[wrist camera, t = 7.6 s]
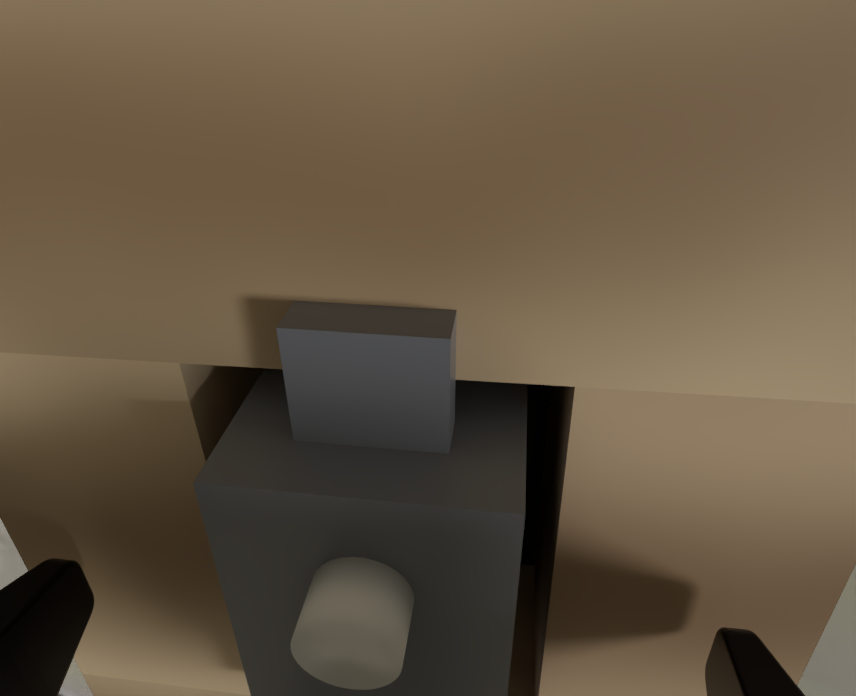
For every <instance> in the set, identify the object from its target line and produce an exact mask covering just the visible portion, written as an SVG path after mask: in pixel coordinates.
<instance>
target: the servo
mask: <svg viewBox="0 0 856 696" xmlns="http://www.w3.org/2000/svg"><path fill="white" fill-rule="evenodd" d="M456 323H457V310H446V309H429V308H412V307H396V306H379V305H362V304H345V303H328V302H311V301H294V302H293V303H292V305H291V306H290V308H289V309H288V311H287V312H286V314H285V315H284V317H283V318H282V320H281V321H280V323H279V324H278V326H277V327H276V330H277V337H278V343H279V350H280V356H281V363H282V369H269V368H264V370H263V371H262V373H261V374H260V376H259V378H258V379H257V381H256V382H255V384H254V386H253V387H252V389H251V390H250V392H249V394H248V395H247V397H246V398H245V400H244V402H243V403H242V405H241V406H240V408H239V410H238V411H237V413H236V414H235V416H234V418H233V419H232V421H231V422H230V424H229V426H228V427H227V429H226V430H225V432H224V434H223V435H222V437H221V438H220V440H219V442H218V443H217V445H216V446H215V448H214V450H213V451H212V453H211V454H210V456H209V458H208V459H207V461H206V462H205V464H204V466H203V467H202V469H201V470H200V472H199V474H198V475H197V477H196V478H195V480H194V482H193V485H194V489H195V493H196V496H197V500H198V504H199V507H200V511H201V515H202V518H203V522H204V526H205V529H206V533H207V537H208V540H209V544H210V548H211V551H212V555H213V559H214V562H215V566H216V570H217V573H218V577H219V581H220V584H221V588H222V592H223V595H224V599H225V603H226V606H227V610H228V614H229V617H230V621H231V625H232V628H233V632H234V636H235V639H236V643H237V647H238V650H239V654H240V658H241V661H242V665H243V669H244V672H245V676H246V680H247V683H248V687H249V691H250V694H251V696H507V694H508V684H509V674H510V664H511V654H512V644H513V634H514V624H515V614H516V604H517V594H518V584H519V573H520V563H521V553H522V543H523V533H524V523H525V505H526V446H527V388H528V384H519V383H502V382H486V381H469V380H456Z"/></svg>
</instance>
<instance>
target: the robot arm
mask: <svg viewBox="0 0 856 696" xmlns="http://www.w3.org/2000/svg"><path fill="white" fill-rule="evenodd" d="M93 607H94V594H93V592H92V590H91V587H90V585H89V583H88V581H87V579H86V576H85V574H84V572H83V570H82V568H81V566H80V564H79V563H78V562H76V561H74V560H67V559H57V558H53V559H48V560H45V561H43V562H42V563H40V564H38V565H37V566H35V567H34V568H32V569H31V570H29V571H28V572H26V573H25V574H24V575H22V576H21V577H19V578H18V579H16V580H15V581H13V582H12V583H10V584H9V585H7V586H6V587H4V588H3V589H1V590H0V696H57V695H58V693H59V690H60V688H61V686H62V683H63V681H64V679H65V676H66V674H67V671H68V669H69V667H70V664H71V662H72V659H73V657H74V655H75V652H76V650H77V648H78V645H79V643H80V640H81V638H82V636H83V633H84V631H85V629H86V626H87V624H88V621H89V619H90V617H91V614H92V611H93ZM705 683H706V691H707V696H805V695H804V694H803V693H802V691H801V690H800V689H799V687H798V686H797V685H796V684H795V682H794V681H793V680H792V679H791V677H790V676H789V675H788V673H787V672H786V671H785V670H784V668H783V667H782V666H781V665H780V663H779V662H778V661H777V660H776V658H775V657H774V656H773V654H772V653H771V652H770V651H769V649H768V648H767V647H766V646H765V644H764V643H763V642H762V641H761V639H760V638H759V637H758V636H757V635H756V634H755V633H754V632H752V631H750V630H747V629H738V628H728V627H722V628H720V629H719V630H718V631H717V633H716V635H715V638H714V641H713V644H712V647H711V650H710V653H709V656H708V659H707V662H706V666H705Z"/></svg>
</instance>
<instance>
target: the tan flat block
mask: <svg viewBox="0 0 856 696" xmlns="http://www.w3.org/2000/svg"><path fill="white" fill-rule="evenodd" d="M294 301H311V302H328V303H345V304H362V305H379V306H396V307H412V308H429V309H446V310H457V323H456V380H469V381H486V382H502V383H519V384H536V385H552V386H551V397H550V408H549V418H548V429H547V439H546V450H545V461H544V471H543V482H542V493H541V503H540V514H539V524H538V535H537V546H536V556H535V565H524V564H520V573H519V584H518V594H517V604H516V614H515V624H514V634H513V644H512V654H511V664H510V674H509V684H508V694H507V696H707V691H706V683H705V666H706V662H707V659H708V656H709V653H710V650H711V647H712V644H713V641H714V638H715V635H716V633H717V631H718V630H719V629H720V628H722V627H728V628H738V629H747V630H750V631H752V632H754V633H755V634H756V635H757V636H758V637H759V638H760V639H761V641H762V642H763V643H764V644H765V646H766V647H767V648H768V649H769V651H770V652H771V653H772V654H773V656H774V657H775V658H776V660H777V661H778V662H779V663H780V665H781V666H782V667H783V668H784V670H785V671H786V672H787V673H788V675H789V676H790V677H791V679H792V680H793V681H794V682H795V684H796V685H798V682H799V680H800V678H801V676H802V674H803V672H804V670H805V668H806V666H807V664H808V662H809V660H810V658H811V656H812V653H813V651H814V649H815V647H816V645H817V643H818V641H819V639H820V637H821V635H822V633H823V631H824V629H825V627H826V624H827V622H828V620H829V618H830V616H831V614H832V612H833V610H834V608H835V606H836V604H837V602H838V600H839V598H840V596H841V593H842V591H843V589H844V587H845V585H846V583H847V581H848V579H849V577H850V575H851V573H852V571H853V569H854V567H855V564H856V0H0V518H1V520H2V522H3V523H4V525H5V527H6V529H7V531H8V533H9V535H10V537H11V539H12V541H13V543H14V544H15V546H16V548H17V550H18V552H19V554H20V556H21V558H22V560H23V562H24V564H25V565H26V567H27V569H28V571H29V570H31V569H32V568H34V567H35V566H37V565H38V564H40V563H42V562H43V561H45V560H48V559H53V558H57V559H67V560H74V561H76V562H78V563H79V564H80V566H81V568H82V570H83V572H84V574H85V576H86V579H87V581H88V583H89V585H90V587H91V590H92V592H93V594H94V607H93V611H92V614H91V617H90V619H89V621H88V624H87V626H86V629H85V631H84V633H83V636H82V638H81V640H80V643H79V645H78V648H77V650H76V652H75V655H74V659H75V661H76V663H77V665H78V667H79V669H80V670H81V672H82V674H83V676H84V678H85V680H86V682H87V684H88V686H89V688H90V690H91V691H92V693H93V695H94V696H251V694H250V691H249V687H248V683H247V680H246V676H245V672H244V669H243V665H242V661H241V658H240V654H239V650H238V647H237V643H236V639H235V636H234V632H233V628H232V625H231V621H230V617H229V614H228V610H227V606H226V603H225V599H224V595H223V592H222V588H221V584H220V581H219V577H218V573H217V570H216V566H215V562H214V559H213V555H212V551H211V548H210V544H209V540H208V537H207V533H206V529H205V526H204V522H203V518H202V515H201V511H200V507H199V504H198V500H197V496H196V493H195V489H194V485H193V482H194V480H195V478H196V477H197V475H198V474H199V472H200V470H201V469H202V467H203V466H204V464H205V462H206V461H207V459H208V458H209V456H210V454H211V453H212V451H213V450H214V448H215V446H216V445H217V443H218V442H219V440H220V438H221V437H222V435H223V434H224V432H225V430H226V429H227V427H228V426H229V424H230V422H231V421H232V419H233V418H234V416H235V414H236V413H237V411H238V410H239V408H240V406H241V405H242V403H243V402H244V400H245V398H246V397H247V395H248V394H249V392H250V390H251V389H252V387H253V386H254V384H255V382H256V381H257V379H258V378H259V376H260V374H261V373H262V371H263V370H264V368H269V369H282V363H281V356H280V350H279V343H278V337H277V330H276V327H277V326H278V324H279V323H280V321H281V320H282V318H283V317H284V315H285V314H286V312H287V311H288V309H289V308H290V306H291V305H292V303H293V302H294Z"/></svg>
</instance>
